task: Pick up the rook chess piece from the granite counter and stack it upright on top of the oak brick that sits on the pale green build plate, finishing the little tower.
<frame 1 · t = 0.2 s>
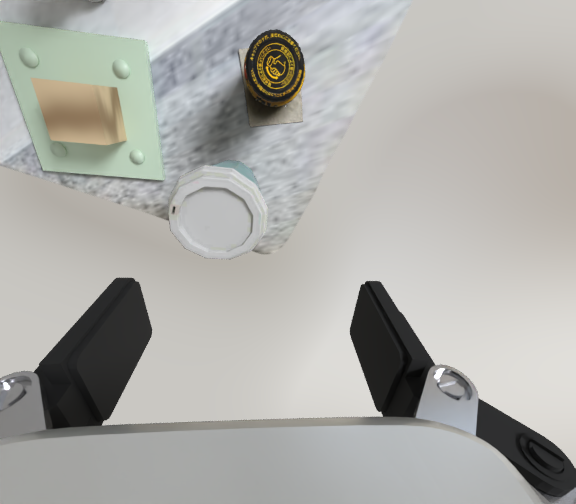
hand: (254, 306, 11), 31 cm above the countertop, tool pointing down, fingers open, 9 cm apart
disposable coffee cup: (234, 184, 39), on the countertop
oak brick: (97, 112, 33), point 1 cm above the countertop, touching build plate
condiment: (272, 87, 33), on the countertop
build plate: (92, 111, 33), on the countertop
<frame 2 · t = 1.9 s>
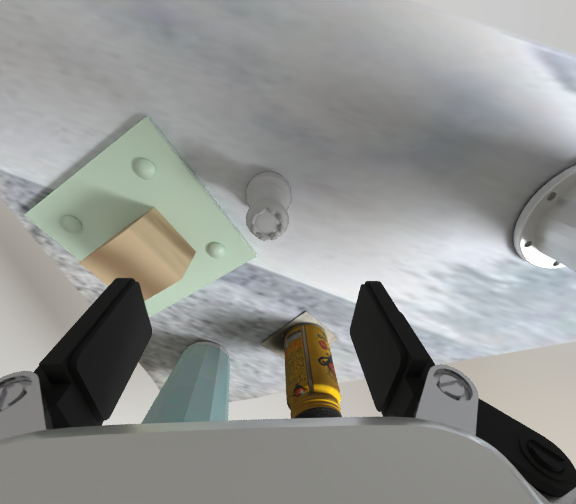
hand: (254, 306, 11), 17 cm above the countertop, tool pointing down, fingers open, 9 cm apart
disposable coffee cup: (205, 355, 37), on the countertop
oak brick: (154, 244, 27), point 1 cm above the countertop, touching build plate
condiment: (299, 338, 37), on the countertop
build plate: (150, 234, 27), on the countertop
rook chess piece: (268, 192, 26), on the countertop
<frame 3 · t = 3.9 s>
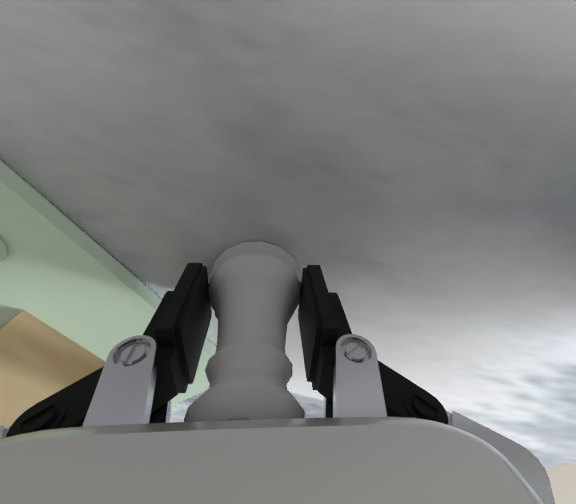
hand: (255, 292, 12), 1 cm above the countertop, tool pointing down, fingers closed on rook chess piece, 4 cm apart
oak brick: (42, 366, 14), point 1 cm above the countertop, touching build plate
build plate: (36, 344, 14), on the countertop
rook chess piece: (257, 273, 13), on the countertop, touching gripper
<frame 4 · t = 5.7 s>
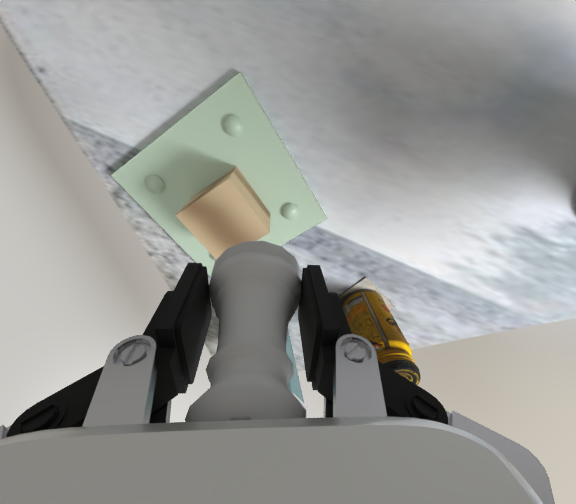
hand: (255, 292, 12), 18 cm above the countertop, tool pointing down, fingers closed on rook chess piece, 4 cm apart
disposable coffee cup: (262, 324, 38), on the countertop
oak brick: (231, 205, 28), point 1 cm above the countertop, touching build plate
condiment: (355, 306, 37), on the countertop
build plate: (226, 196, 28), on the countertop
rook chess piece: (257, 272, 13), point 16 cm above the countertop, touching gripper
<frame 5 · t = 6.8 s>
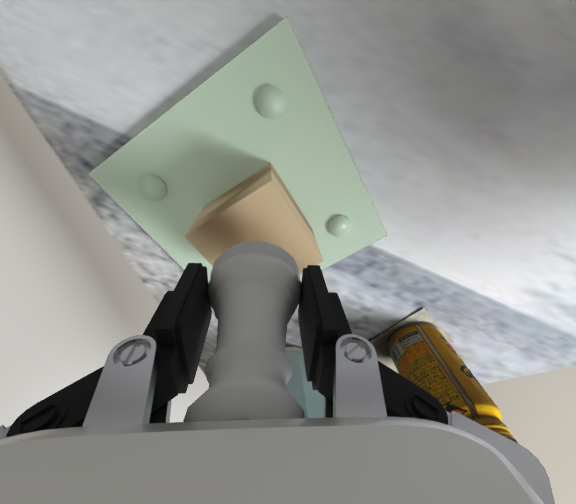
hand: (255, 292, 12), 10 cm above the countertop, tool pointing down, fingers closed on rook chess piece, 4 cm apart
disposable coffee cup: (286, 363, 30), on the countertop
oak brick: (259, 218, 20), point 1 cm above the countertop, touching build plate
condiment: (404, 341, 30), on the countertop
build plate: (252, 204, 20), on the countertop
rook chess piece: (256, 273, 13), point 8 cm above the countertop, touching gripper
when the fingers open (7 cm above the countertop, at t = 7.6 s): rook chess piece stays where it is, resting on oak brick.
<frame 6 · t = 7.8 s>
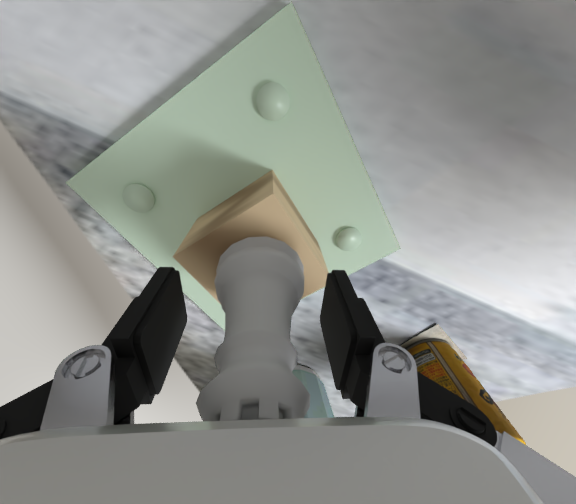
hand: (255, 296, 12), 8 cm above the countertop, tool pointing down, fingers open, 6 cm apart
disposable coffee cup: (288, 381, 28), on the countertop
oak brick: (259, 230, 18), point 1 cm above the countertop, touching build plate, rook chess piece
condiment: (414, 358, 28), on the countertop
build plate: (252, 215, 18), on the countertop
rook chess piece: (261, 267, 14), point 6 cm above the countertop, touching oak brick
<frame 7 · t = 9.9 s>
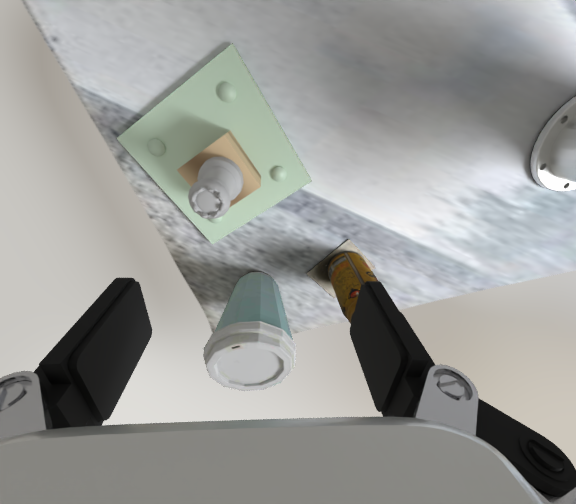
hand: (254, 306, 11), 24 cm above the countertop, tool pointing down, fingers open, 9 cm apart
disposable coffee cup: (254, 287, 41), on the countertop
oak brick: (226, 168, 31), point 1 cm above the countertop, touching build plate, rook chess piece
condiment: (340, 269, 41), on the countertop
build plate: (221, 159, 31), on the countertop
rook chess piece: (222, 177, 27), point 6 cm above the countertop, touching oak brick
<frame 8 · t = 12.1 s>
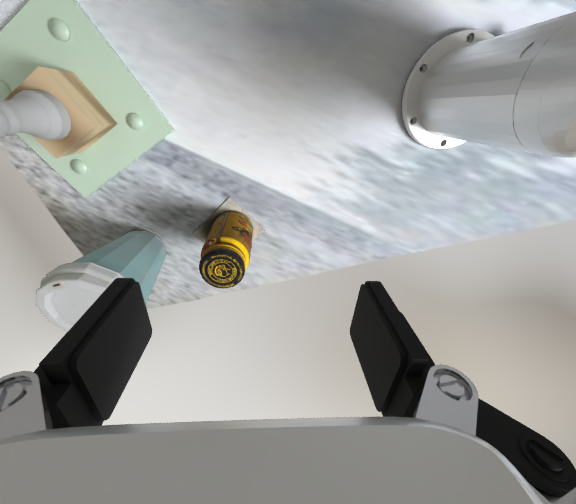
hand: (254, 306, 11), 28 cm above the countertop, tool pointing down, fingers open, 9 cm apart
disposable coffee cup: (144, 247, 41), on the countertop
oak brick: (79, 114, 30), point 1 cm above the countertop, touching build plate, rook chess piece
condiment: (229, 230, 40), on the countertop
build plate: (76, 106, 31), on the countertop
rook chess piece: (51, 115, 26), point 6 cm above the countertop, touching oak brick
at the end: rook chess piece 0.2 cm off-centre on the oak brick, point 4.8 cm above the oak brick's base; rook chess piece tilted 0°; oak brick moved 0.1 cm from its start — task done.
